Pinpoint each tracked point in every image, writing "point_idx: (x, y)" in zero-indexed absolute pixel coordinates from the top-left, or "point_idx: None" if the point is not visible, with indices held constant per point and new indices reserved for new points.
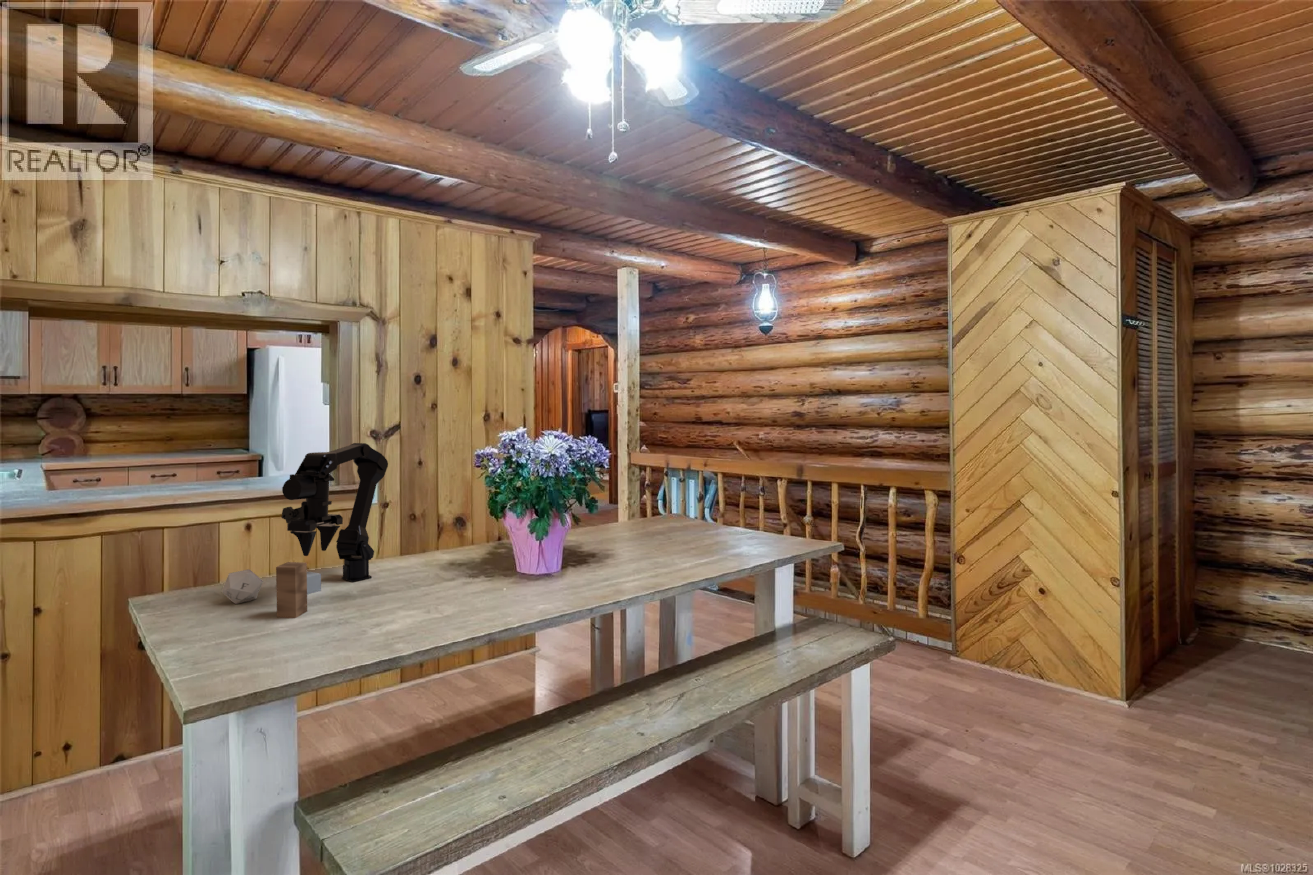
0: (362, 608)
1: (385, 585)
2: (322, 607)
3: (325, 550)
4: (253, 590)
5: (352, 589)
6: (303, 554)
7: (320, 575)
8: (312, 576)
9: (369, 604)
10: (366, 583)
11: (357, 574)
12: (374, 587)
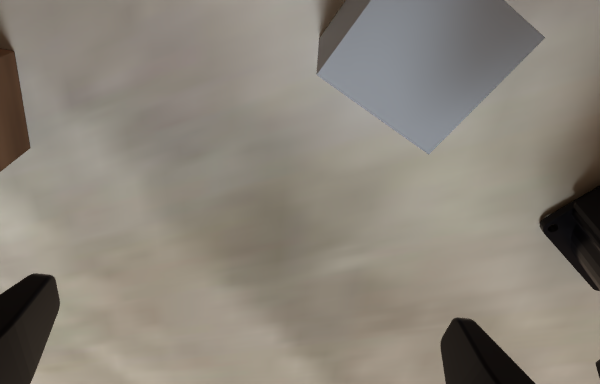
0: (116, 322)
1: (430, 342)
2: (102, 193)
3: (445, 346)
4: None
5: (395, 245)
6: (20, 283)
7: (422, 147)
8: (370, 112)
9: (166, 333)
10: (492, 278)
11: (584, 260)
12: (408, 314)
